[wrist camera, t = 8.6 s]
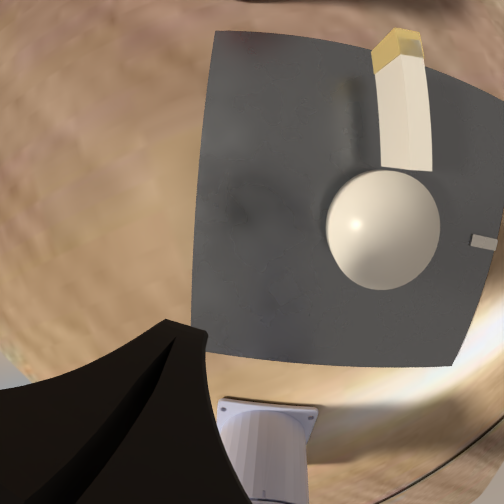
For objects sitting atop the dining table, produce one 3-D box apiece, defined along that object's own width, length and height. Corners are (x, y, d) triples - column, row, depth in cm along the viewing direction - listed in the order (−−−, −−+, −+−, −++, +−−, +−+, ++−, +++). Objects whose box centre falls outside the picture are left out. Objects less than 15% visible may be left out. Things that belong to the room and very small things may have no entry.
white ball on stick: (422, 276, 16) (461, 314, 11) (324, 282, 16) (340, 327, 12) (422, 68, 12) (467, 45, 8) (317, 57, 13) (332, 20, 8)
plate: (446, 358, 20) (456, 373, 18) (194, 341, 21) (187, 357, 19) (503, 106, 14) (520, 105, 12) (218, 36, 15) (211, 24, 13)
